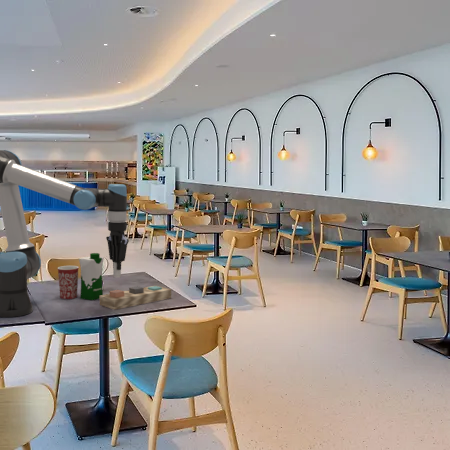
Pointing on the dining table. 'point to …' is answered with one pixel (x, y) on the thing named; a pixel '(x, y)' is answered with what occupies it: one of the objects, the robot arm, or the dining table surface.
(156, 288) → the teal button
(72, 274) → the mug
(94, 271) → the milk carton
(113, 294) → the terracotta button
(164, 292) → the oak button console
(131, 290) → the charcoal button
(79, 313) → the dining table surface
